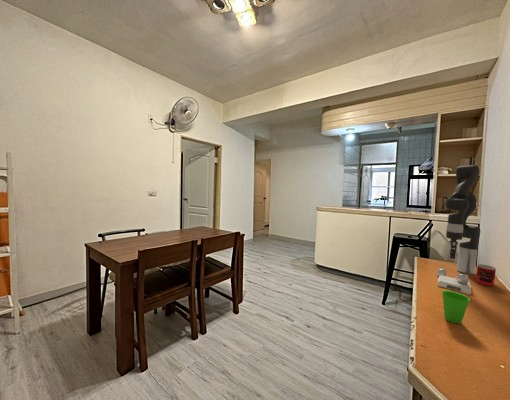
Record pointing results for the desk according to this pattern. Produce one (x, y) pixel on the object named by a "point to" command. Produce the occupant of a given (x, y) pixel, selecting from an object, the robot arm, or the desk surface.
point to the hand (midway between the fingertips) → (452, 256)
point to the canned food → (485, 275)
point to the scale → (453, 284)
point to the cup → (454, 306)
